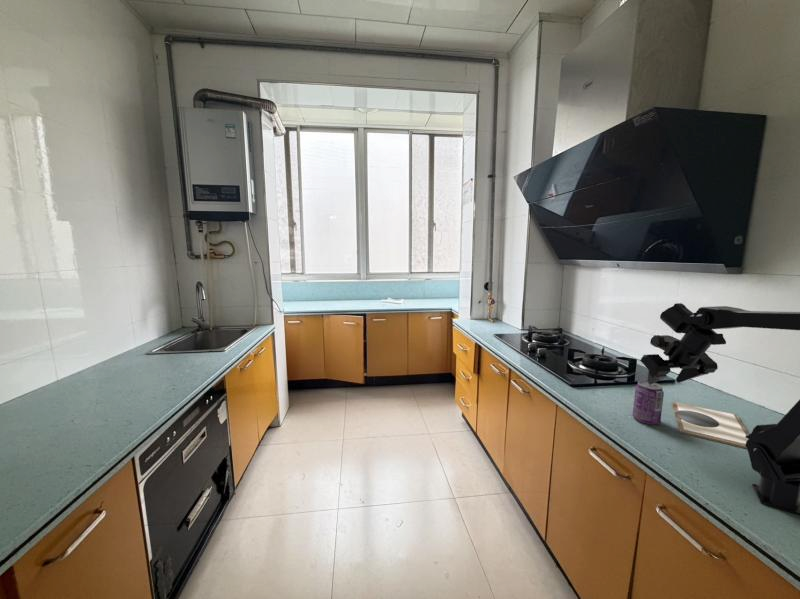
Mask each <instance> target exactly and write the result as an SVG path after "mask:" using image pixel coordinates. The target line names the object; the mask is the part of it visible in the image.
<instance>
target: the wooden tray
mask: <svg viewBox="0 0 800 599" xmlns="http://www.w3.org/2000/svg"><path fill="white" fill-rule="evenodd" d="M671 404H672V407H673V411H674V416H675V419H676V423H677V426H678V431H679V434H680V433H681V434H683V435H687V436H688V435H689V436H693V437H697V438H699V439H704V440H705V439H706V440H710V441H714V442H718V443H721V444H726V445H730V446H733V447H737V448H741V449H747V447H746V446H745V445H746V442H747V440H748V438H746V437H745V436H748V435H750V434H749V431H748V430H747V428H746V427H745V425H744V424H743V422H742V421H741V419H740V418H739V416H738V414H735V413H732V412H726V411H720V410H715V409H710V408H707V407H706V408H705V407H701V406H695V405H691V404H687V403H680V402H677V401H672V402H671ZM747 450H748V449H747Z"/></svg>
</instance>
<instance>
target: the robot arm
mask: <svg viewBox="0 0 800 599" xmlns="http://www.w3.org/2000/svg"><path fill="white" fill-rule="evenodd" d="M659 319H660V320H661V321H662V322H663V323H664V324H665V325H667V326H668V327H669V328H670V329H671V330H672V331H674V333H677V334H684V335H683V336H682V338H681V339H679V338H677V337H674V336H672V335H667V334H665V335H663V334H662V335H660V334H658V335H656V334H655V335H653V336H652V337H651V338H650V345H651V346H652V347H655V348H658V349H660V350H662V351H663V354H664V355H665V356H666V357H668V359H664V358H662V356H660V354H656V353H652V354H643V356H642V357H641V358H640V362H641V363H642V364H643V365H644V366H645V368H646V369H648V374H647V380H646V381H647V382H648V383H649V384H653V383H657V382H659V381H661V380H662V379H665V378H667V376H668V374H670V372H672V371H671V370H672V369H680V371H679V373H678V374H677V377H676V379H675V381H676V383H678V384H679V383H683V382H686V381H689V380H692V379H695V378H697V377H702V376H706V375H709V374H713V373H715V372H716V371H717V370H718V369H719V367H718V363H717V362H716V361H715V360H714V359H712V358H711V357H710V356H709V355H708V353H706V352H707V351H708V349H710V348H711V346H712V345H713V346H717V345H718V346H719V345H726V344H727V341H726V339H725V338H724V334H723V333H717V332H716V331H715V330H724V329H725V330H727V329H738V328H739V329H740V328H756V329H772V330H786V331H787V330H789V331H800V311H767V310H766V311H765V310H763V311H761V310H760V311H759V310H746V309H744V308H743V309H742V308H739V307H733V306H726V305H722V306H721V305H720V306H718V305H717V306H701V307H699V308H697V310H696V312H692V311H691V310H690V309H689V308H688V307H687V306H686V305H685V304H684V303H682V302H680V303H677V302H676V303H673V306H671V307H670V306H669V307H668V308H666V309H664V311H661V314H660V315H659ZM745 437H746V438H748V440H747V442H746V445H745V446H746V447H747V451H748V452H747V453H748V456H749V461H750V465H751V468H752V470H753V471H754V472H756V473H758V474H759V476H760V477H759V483H758V484H755V483H752V484H751V488H752V490H753V491H754V493H755V495H756V498H757V499H758V501H759V503H761V504H763V505H767V506H770V507H773V508H776V509H779V510H783V511H786V512H789V513H793V514H795V515H799V516H800V399H798V400H797V402H795V404H794V405H793V406H792V407H791V408H790V409H789V410H788V412H787V413H785V415H784V416H783V417H782V418H781V419H780V420H779V421H778V422H777V423H769V424H756V425H755V427H754V428H753V429H752V431H751V433H750V434H749V435H748V436H745Z"/></svg>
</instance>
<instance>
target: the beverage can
mask: <svg viewBox="0 0 800 599" xmlns="http://www.w3.org/2000/svg"><path fill="white" fill-rule="evenodd" d="M647 381H648V380H640V381H637V385H636V386H635V389H634V398H633V406H632V417H633V418H634V419H636V420H637V421H639V422H640V423H642V424H646V425H659V424H660V423H661V419H662V413H663V412H662V411H663V404H664V394H665V393H664V390H663V389H664V388H663V385H661V384H659V383H657V382H655V383H653V384H649V383H648V382H647Z"/></svg>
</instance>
